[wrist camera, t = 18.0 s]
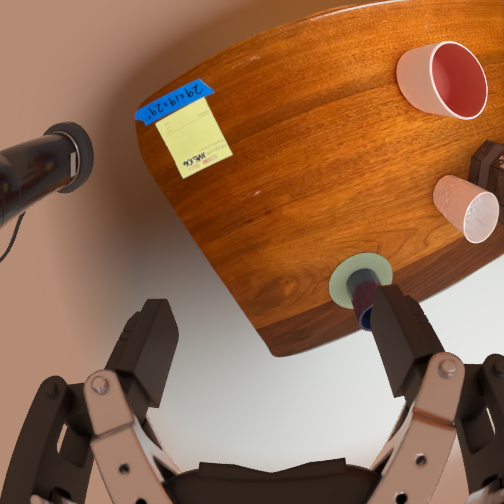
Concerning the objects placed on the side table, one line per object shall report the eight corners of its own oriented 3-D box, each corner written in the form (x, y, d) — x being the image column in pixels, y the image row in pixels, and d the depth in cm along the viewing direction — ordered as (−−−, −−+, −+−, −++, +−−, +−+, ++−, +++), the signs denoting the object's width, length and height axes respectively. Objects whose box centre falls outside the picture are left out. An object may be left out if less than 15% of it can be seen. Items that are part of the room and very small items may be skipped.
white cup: (464, 208, 38) (498, 234, 29) (431, 220, 39) (463, 250, 31) (461, 166, 34) (499, 186, 25) (426, 177, 36) (462, 200, 27)
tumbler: (344, 297, 47) (356, 333, 40) (347, 269, 44) (361, 304, 37) (375, 294, 47) (390, 328, 39) (379, 266, 44) (398, 299, 36)
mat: (326, 311, 49) (326, 311, 49) (330, 254, 43) (330, 255, 43) (385, 304, 48) (386, 304, 48) (397, 249, 42) (397, 250, 42)
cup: (387, 97, 31) (423, 99, 22) (397, 39, 26) (433, 26, 17) (441, 121, 31) (481, 132, 22) (450, 66, 26) (491, 66, 18)
